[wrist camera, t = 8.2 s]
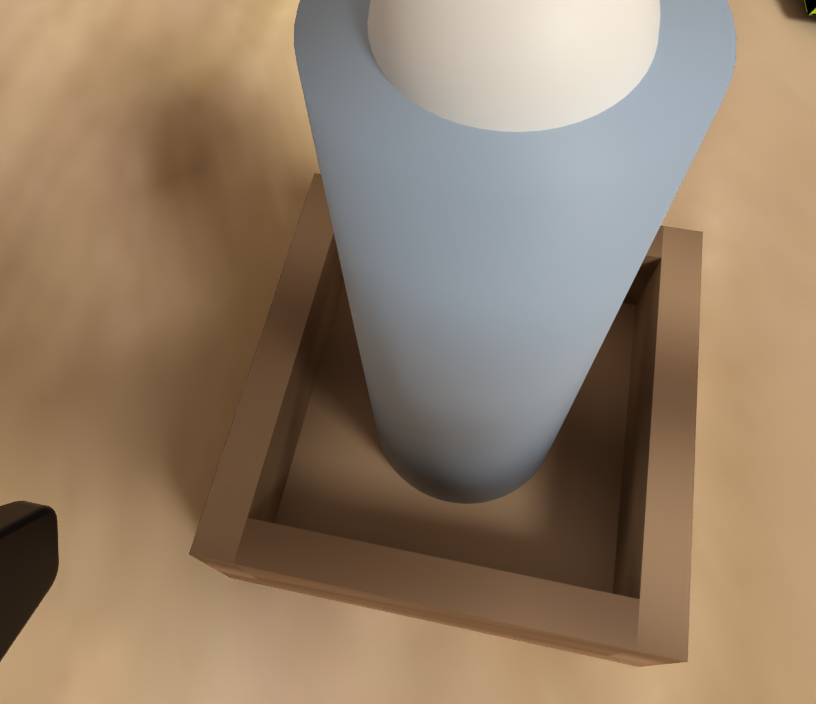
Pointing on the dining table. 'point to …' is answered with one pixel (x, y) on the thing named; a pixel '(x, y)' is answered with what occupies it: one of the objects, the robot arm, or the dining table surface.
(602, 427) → the square wooden tray
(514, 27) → the blue bottle
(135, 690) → the dining table surface
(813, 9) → the aircraft
